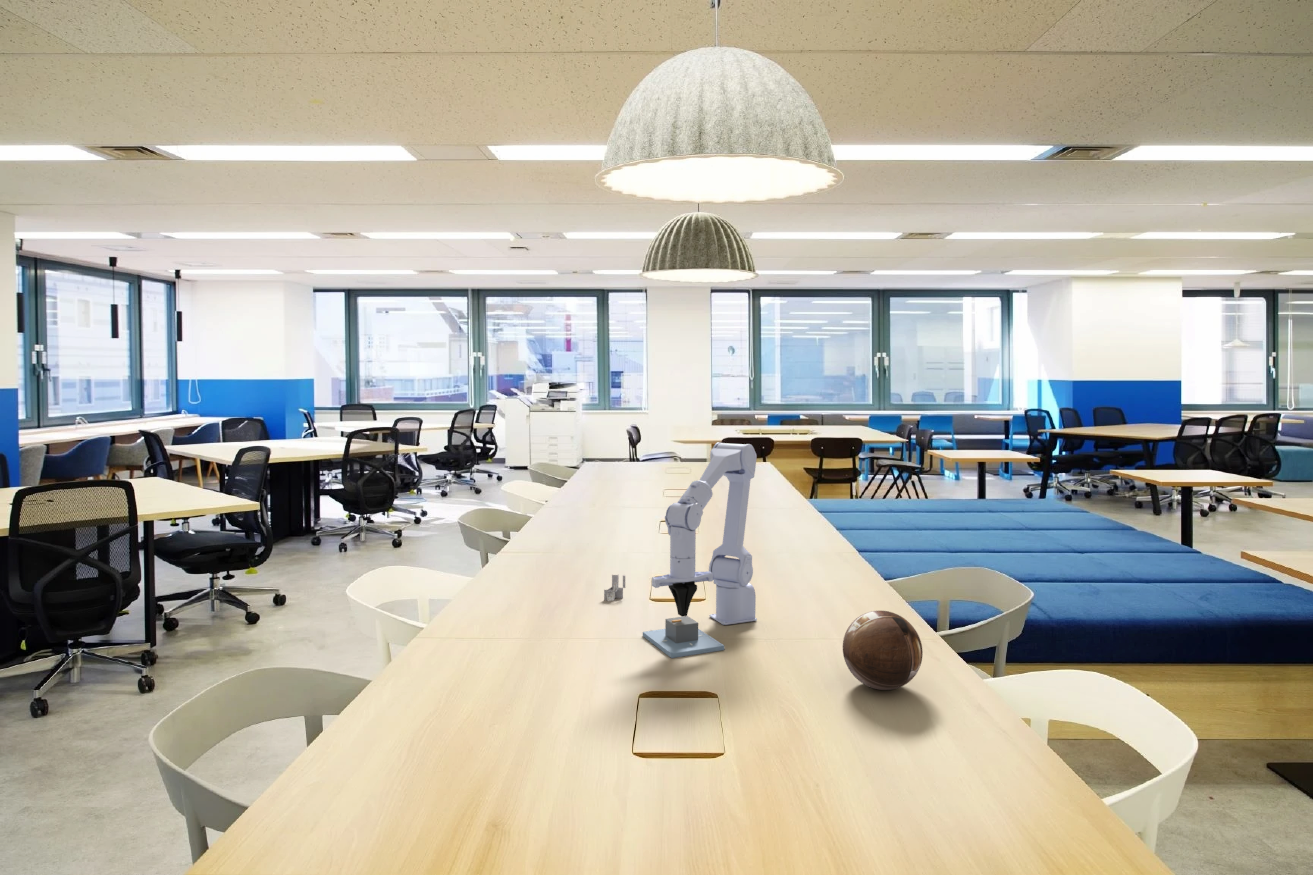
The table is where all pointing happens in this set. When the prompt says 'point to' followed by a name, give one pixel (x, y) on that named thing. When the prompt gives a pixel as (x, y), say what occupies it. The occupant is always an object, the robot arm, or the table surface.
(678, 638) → the grey drawer cabinet
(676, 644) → the plate
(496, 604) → the table surface
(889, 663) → the wooden sphere
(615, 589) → the architectural model
